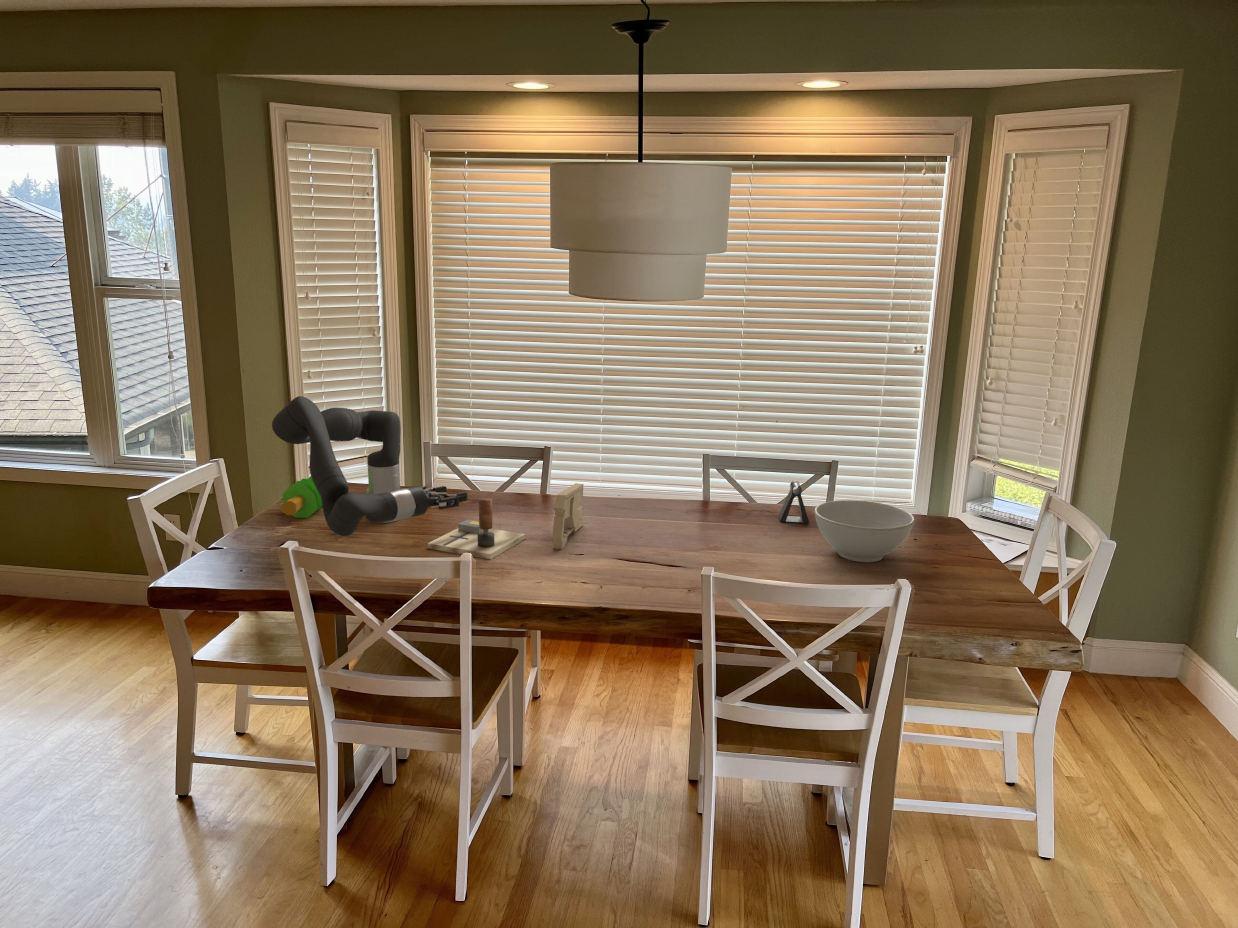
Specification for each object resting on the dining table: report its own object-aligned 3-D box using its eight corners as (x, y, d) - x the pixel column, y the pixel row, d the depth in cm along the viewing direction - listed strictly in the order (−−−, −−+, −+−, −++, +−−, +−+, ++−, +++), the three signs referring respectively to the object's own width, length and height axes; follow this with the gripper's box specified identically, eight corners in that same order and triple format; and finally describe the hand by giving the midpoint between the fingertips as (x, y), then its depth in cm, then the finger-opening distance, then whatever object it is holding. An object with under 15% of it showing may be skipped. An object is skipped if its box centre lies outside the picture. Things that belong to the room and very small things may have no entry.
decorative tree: (278, 483, 264) (320, 456, 292) (266, 517, 267) (310, 487, 296) (313, 499, 264) (352, 471, 292) (302, 532, 267) (342, 501, 296)
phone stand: (807, 518, 284) (809, 481, 281) (809, 523, 278) (811, 486, 275) (778, 516, 285) (780, 480, 282) (779, 522, 279) (782, 485, 276)
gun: (562, 550, 248) (563, 497, 246) (550, 549, 249) (552, 496, 247) (583, 531, 272) (584, 483, 270) (572, 531, 273) (574, 482, 270)
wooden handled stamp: (474, 546, 246) (473, 500, 243) (483, 541, 250) (482, 496, 247) (488, 548, 245) (488, 502, 242) (497, 543, 249) (497, 498, 246)
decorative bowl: (825, 534, 268) (828, 495, 266) (918, 549, 257) (922, 508, 254) (799, 560, 245) (802, 518, 242) (900, 578, 233) (904, 534, 231)
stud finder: (458, 530, 259) (458, 523, 258) (467, 525, 263) (467, 518, 263) (479, 533, 256) (479, 526, 256) (488, 529, 261) (488, 522, 260)
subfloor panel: (427, 548, 248) (427, 542, 248) (465, 529, 265) (465, 524, 265) (490, 559, 241) (490, 553, 240) (524, 539, 258) (524, 533, 257)
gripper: (388, 511, 230) (439, 501, 242) (422, 523, 220) (473, 512, 232) (387, 483, 228) (439, 474, 240) (422, 494, 219) (473, 484, 231)
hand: (456, 493), depth 236 cm, fingers open, 8 cm apart
